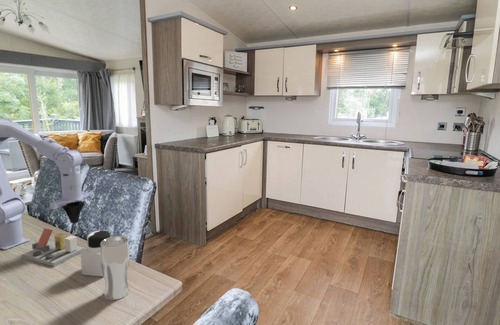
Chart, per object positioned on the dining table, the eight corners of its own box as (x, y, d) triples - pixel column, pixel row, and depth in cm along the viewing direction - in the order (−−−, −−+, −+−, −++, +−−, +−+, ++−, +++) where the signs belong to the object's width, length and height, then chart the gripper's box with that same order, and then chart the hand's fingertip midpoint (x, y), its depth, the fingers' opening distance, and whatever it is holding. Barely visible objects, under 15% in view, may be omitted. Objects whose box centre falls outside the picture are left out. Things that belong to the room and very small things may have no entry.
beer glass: (136, 288, 76) (135, 238, 73) (116, 304, 69) (114, 249, 67) (116, 282, 78) (114, 233, 75) (96, 297, 71) (93, 244, 69)
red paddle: (34, 247, 92) (43, 228, 94) (37, 248, 93) (46, 228, 95) (42, 249, 91) (50, 229, 93) (45, 250, 92) (53, 230, 94)
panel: (20, 257, 89) (19, 249, 88) (53, 242, 99) (53, 235, 99) (54, 266, 84) (53, 258, 84) (85, 250, 95) (84, 243, 94)
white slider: (65, 250, 91) (64, 238, 90) (72, 247, 93) (71, 235, 93) (70, 252, 90) (69, 239, 90) (77, 248, 93) (76, 236, 92)
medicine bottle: (118, 264, 87) (116, 229, 85) (104, 277, 80) (102, 239, 78) (97, 262, 88) (95, 227, 86) (81, 275, 81) (79, 237, 79)
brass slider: (55, 248, 92) (54, 236, 92) (62, 245, 95) (61, 233, 94) (60, 249, 92) (59, 237, 91) (67, 246, 94) (66, 234, 93)
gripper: (60, 191, 87) (63, 232, 89) (97, 182, 100) (99, 217, 102) (43, 189, 89) (47, 228, 91) (83, 180, 102) (85, 214, 105)
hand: (74, 222), depth 97 cm, fingers closed
